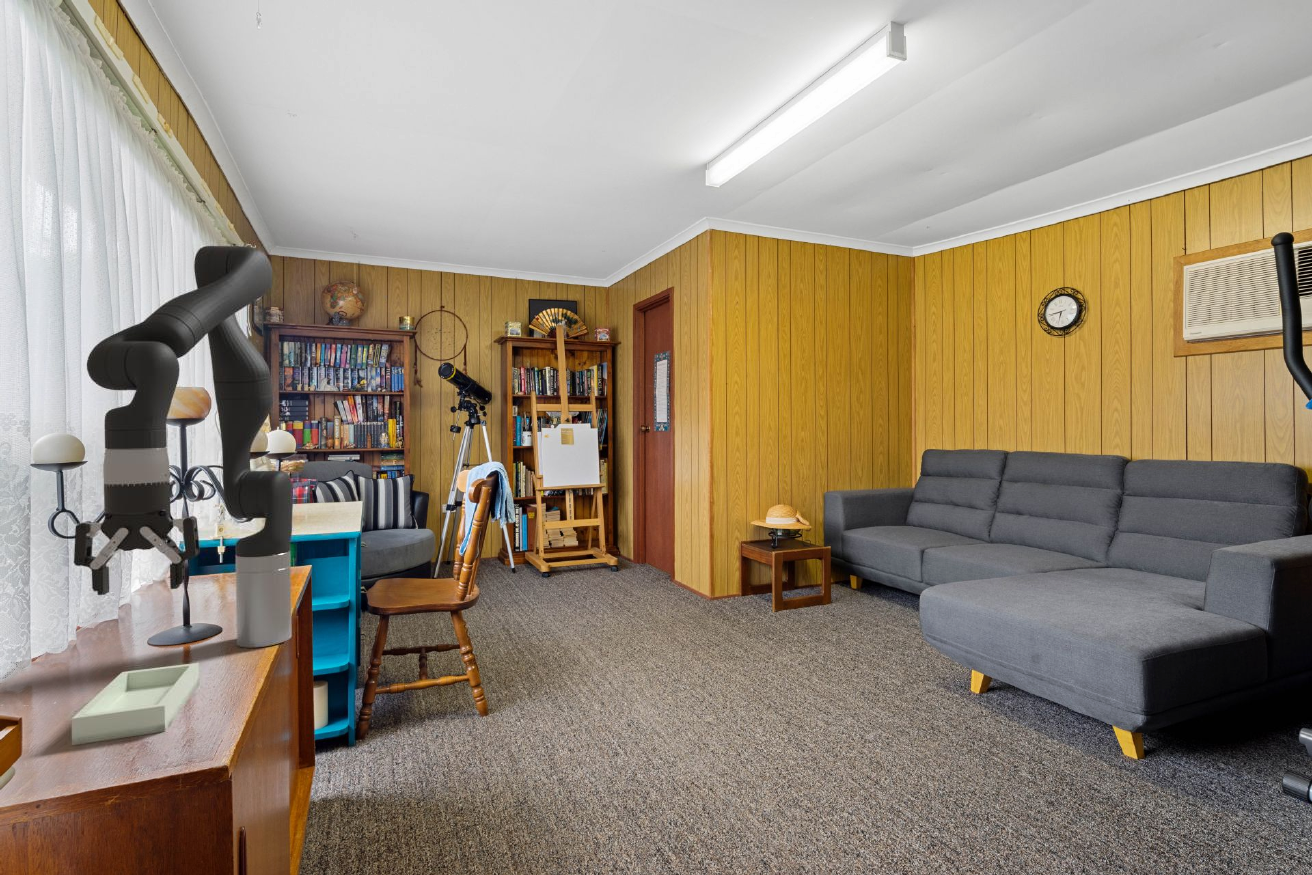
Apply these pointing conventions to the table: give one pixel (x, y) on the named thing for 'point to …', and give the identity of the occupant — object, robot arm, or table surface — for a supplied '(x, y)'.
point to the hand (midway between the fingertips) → (140, 590)
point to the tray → (136, 704)
